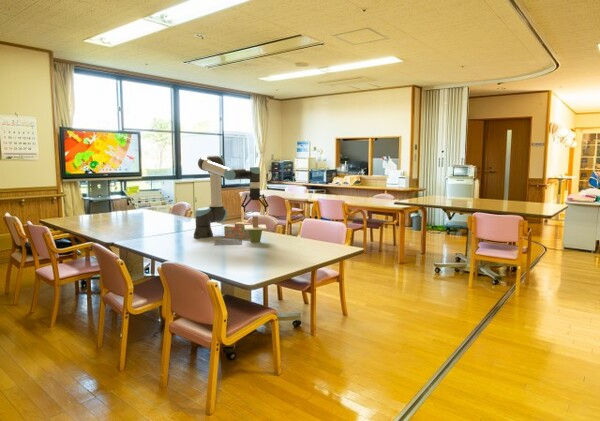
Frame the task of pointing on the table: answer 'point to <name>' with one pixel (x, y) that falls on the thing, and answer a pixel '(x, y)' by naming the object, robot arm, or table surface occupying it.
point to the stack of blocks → (237, 230)
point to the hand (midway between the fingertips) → (254, 216)
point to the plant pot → (255, 235)
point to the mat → (228, 242)
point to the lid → (255, 224)
